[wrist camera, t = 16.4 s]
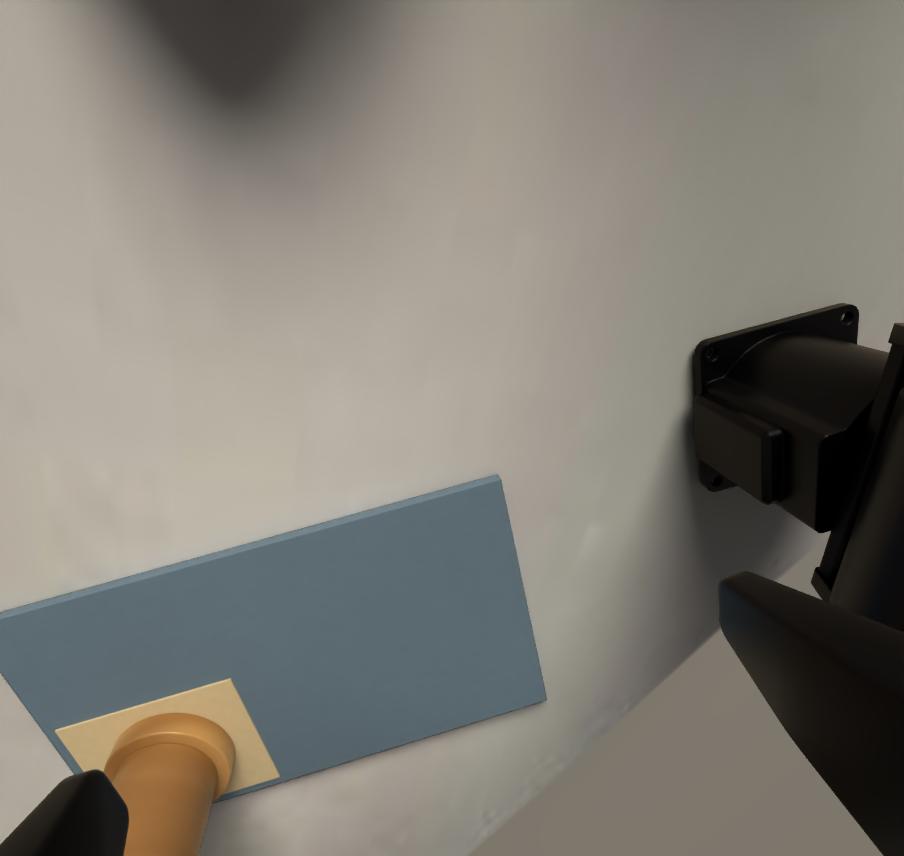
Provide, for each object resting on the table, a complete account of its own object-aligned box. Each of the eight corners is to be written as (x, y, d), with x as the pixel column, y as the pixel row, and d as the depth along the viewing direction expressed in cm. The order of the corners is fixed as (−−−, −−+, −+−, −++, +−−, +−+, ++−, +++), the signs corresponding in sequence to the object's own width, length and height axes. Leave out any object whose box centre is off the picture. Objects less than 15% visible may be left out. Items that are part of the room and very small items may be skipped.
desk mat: (497, 473, 22) (501, 480, 21) (543, 692, 26) (548, 702, 26) (-25, 618, 20) (-36, 629, 20) (121, 822, 25) (115, 836, 24)
